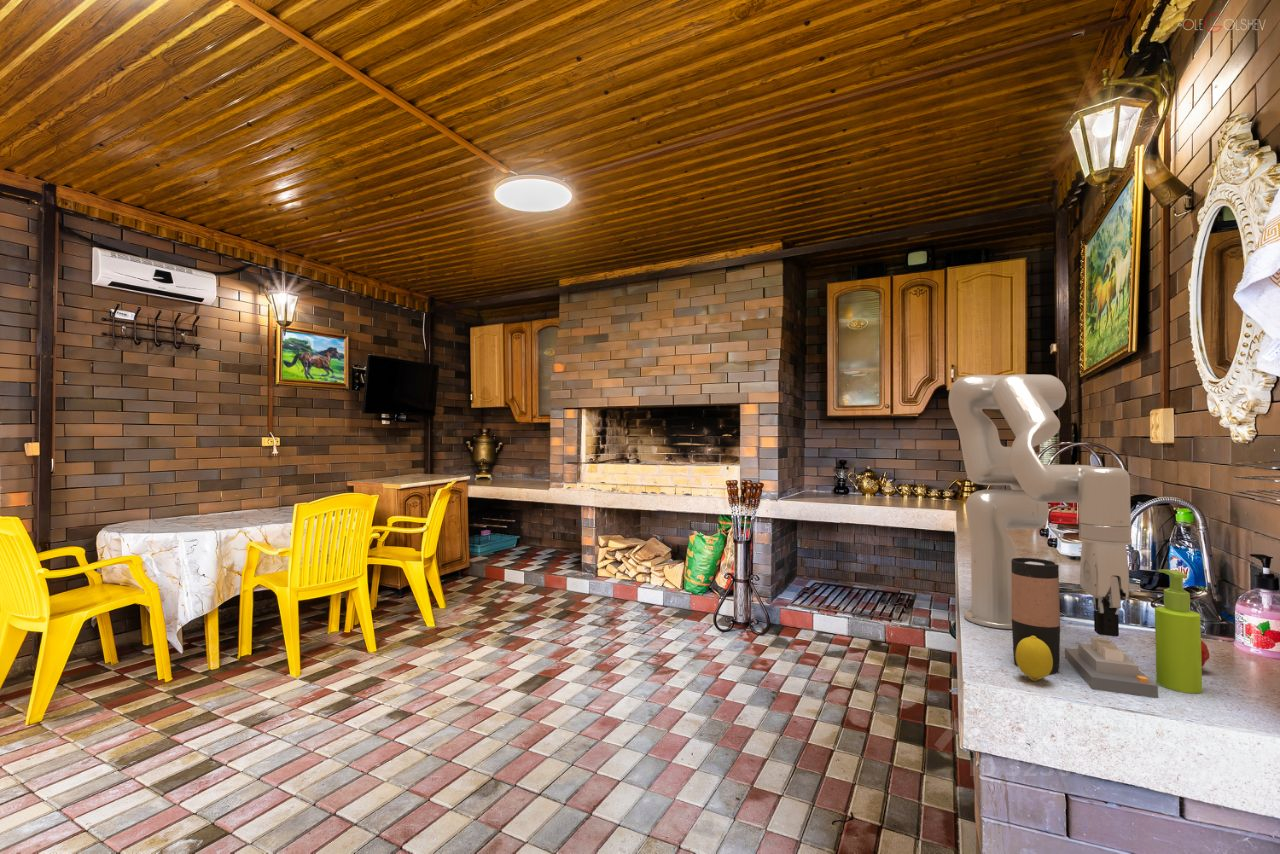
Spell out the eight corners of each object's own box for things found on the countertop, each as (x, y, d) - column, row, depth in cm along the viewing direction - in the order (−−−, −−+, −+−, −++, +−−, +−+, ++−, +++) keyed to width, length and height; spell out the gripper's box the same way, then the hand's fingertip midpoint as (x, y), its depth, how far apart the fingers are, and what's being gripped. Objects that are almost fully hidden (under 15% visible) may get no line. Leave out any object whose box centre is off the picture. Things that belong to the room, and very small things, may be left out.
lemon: (1059, 688, 100) (1058, 642, 100) (1024, 685, 101) (1023, 639, 101) (1043, 676, 105) (1043, 632, 105) (1010, 673, 106) (1009, 629, 106)
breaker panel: (1064, 657, 114) (1064, 628, 115) (1120, 664, 111) (1120, 634, 111) (1092, 688, 100) (1091, 655, 100) (1158, 697, 96) (1157, 662, 96)
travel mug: (1003, 662, 112) (1001, 559, 112) (1028, 657, 115) (1027, 556, 115) (1044, 677, 104) (1042, 566, 105) (1070, 671, 108) (1068, 563, 108)
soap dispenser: (1186, 679, 104) (1183, 568, 105) (1210, 695, 97) (1207, 576, 98) (1146, 675, 106) (1143, 566, 106) (1167, 690, 99) (1165, 574, 100)
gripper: (1067, 527, 115) (1069, 620, 114) (1093, 538, 101) (1095, 644, 100) (1114, 530, 112) (1116, 625, 111) (1147, 541, 98) (1150, 650, 97)
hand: (1106, 634), depth 106 cm, fingers closed
